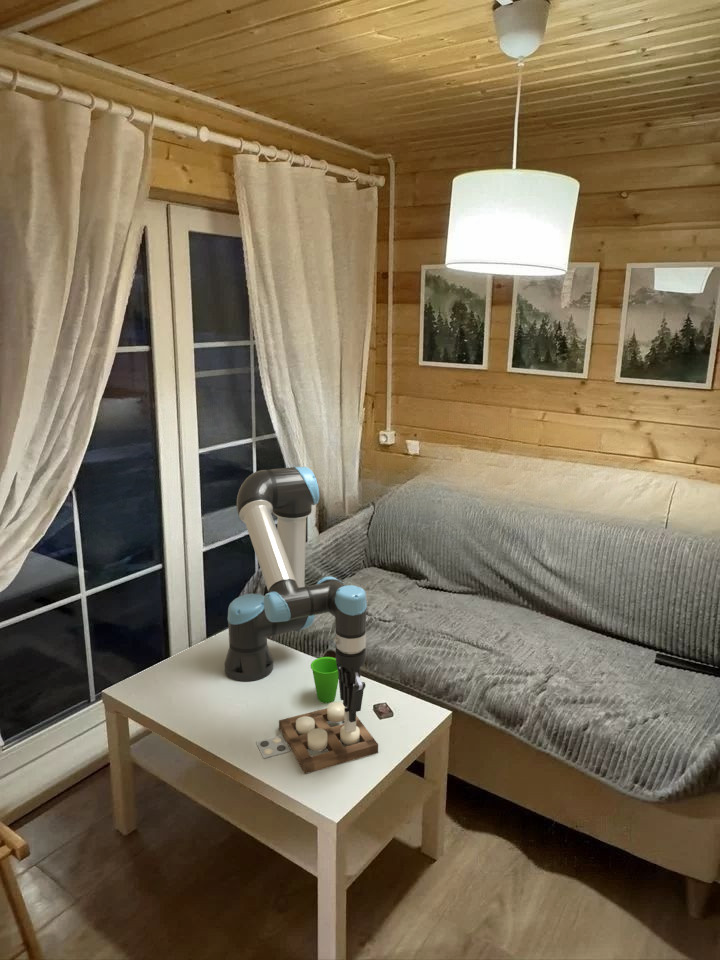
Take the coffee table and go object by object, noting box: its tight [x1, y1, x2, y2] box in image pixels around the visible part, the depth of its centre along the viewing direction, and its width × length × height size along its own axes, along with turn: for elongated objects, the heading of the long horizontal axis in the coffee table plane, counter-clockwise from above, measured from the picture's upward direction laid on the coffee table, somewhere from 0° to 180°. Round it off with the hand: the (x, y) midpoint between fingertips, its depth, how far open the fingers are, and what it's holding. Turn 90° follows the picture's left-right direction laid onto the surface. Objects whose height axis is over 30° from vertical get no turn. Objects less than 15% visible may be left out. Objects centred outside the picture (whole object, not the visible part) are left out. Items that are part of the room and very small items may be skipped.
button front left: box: [340, 726, 360, 747], centre depth 177 cm, size 5×5×3 cm
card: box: [255, 734, 291, 760], centre depth 177 cm, size 7×7×1 cm
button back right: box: [295, 716, 315, 736], centre depth 181 cm, size 5×5×3 cm
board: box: [278, 707, 379, 775], centre depth 180 cm, size 20×20×2 cm
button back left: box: [326, 701, 345, 723], centre depth 185 cm, size 5×5×3 cm
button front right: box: [308, 728, 327, 752], centre depth 173 cm, size 5×5×3 cm
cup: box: [310, 656, 339, 704], centre depth 197 cm, size 9×9×11 cm
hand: (350, 729), depth 176 cm, fingers closed
